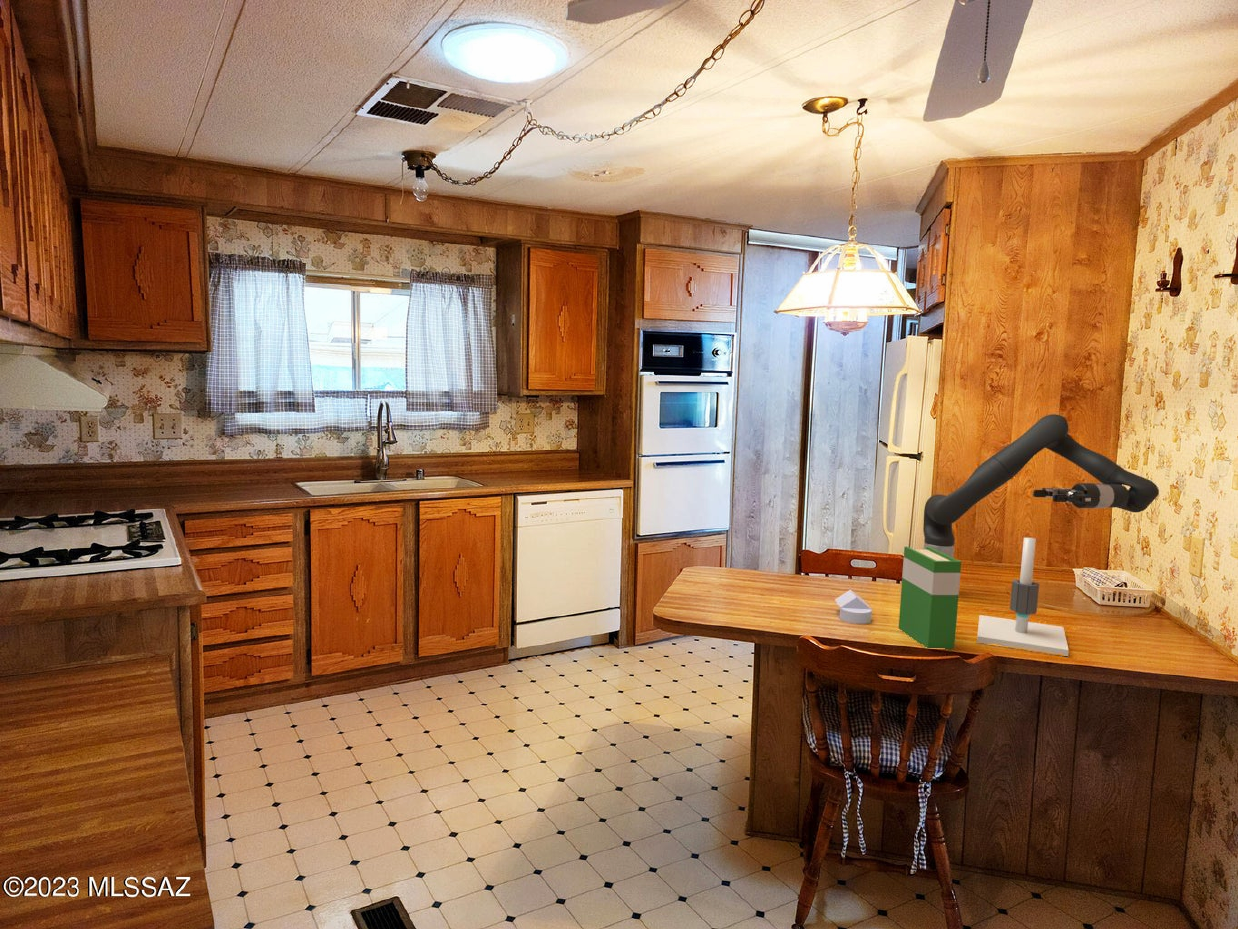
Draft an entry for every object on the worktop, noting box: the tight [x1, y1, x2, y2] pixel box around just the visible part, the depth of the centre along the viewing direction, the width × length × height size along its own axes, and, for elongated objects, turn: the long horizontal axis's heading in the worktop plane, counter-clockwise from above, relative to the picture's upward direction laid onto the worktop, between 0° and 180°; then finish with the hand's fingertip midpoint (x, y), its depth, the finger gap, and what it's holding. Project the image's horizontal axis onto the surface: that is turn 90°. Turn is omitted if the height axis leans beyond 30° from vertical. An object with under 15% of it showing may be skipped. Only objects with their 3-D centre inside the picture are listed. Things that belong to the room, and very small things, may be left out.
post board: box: [976, 537, 1069, 657], centre depth 227 cm, size 22×22×28 cm
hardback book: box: [898, 546, 962, 650], centre depth 224 cm, size 18×7×24 cm, turn 6°
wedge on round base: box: [834, 589, 872, 625], centre depth 243 cm, size 9×7×13 cm
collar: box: [1009, 579, 1040, 615], centre depth 227 cm, size 7×7×8 cm
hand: (1043, 495), depth 241 cm, fingers open, 8 cm apart
